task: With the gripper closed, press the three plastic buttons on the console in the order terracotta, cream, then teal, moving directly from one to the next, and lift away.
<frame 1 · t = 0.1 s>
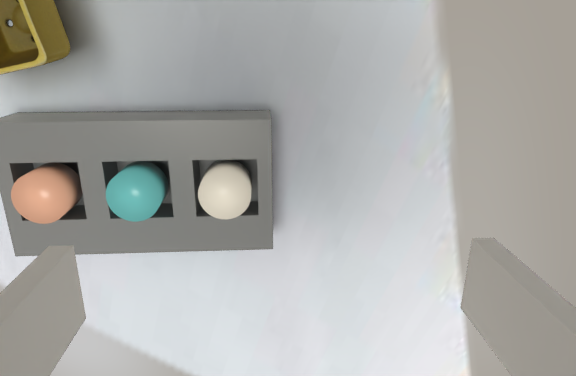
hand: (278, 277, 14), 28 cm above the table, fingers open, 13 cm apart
flower pot: (29, 17, 37), on the table
console: (152, 173, 42), on the table
teal button: (138, 190, 37), point 5 cm above the table, slide at 0.0 cm
cream button: (226, 188, 37), point 5 cm above the table, slide at 0.0 cm
terracotta button: (48, 192, 36), point 5 cm above the table, slide at 0.0 cm
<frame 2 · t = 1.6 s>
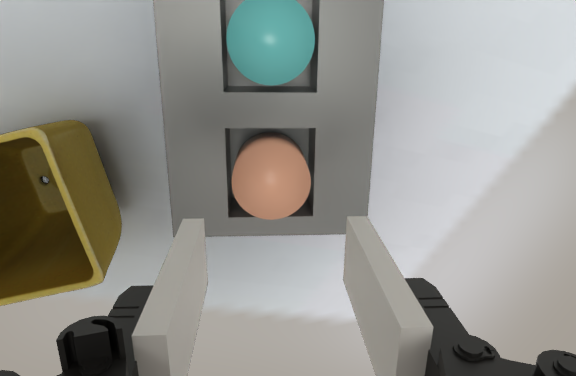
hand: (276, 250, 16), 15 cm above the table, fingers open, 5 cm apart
flower pot: (68, 174, 30), on the table
console: (268, 40, 28), on the table
teal button: (270, 40, 23), point 5 cm above the table, slide at 0.0 cm
terracotta button: (270, 174, 25), point 5 cm above the table, slide at 0.0 cm
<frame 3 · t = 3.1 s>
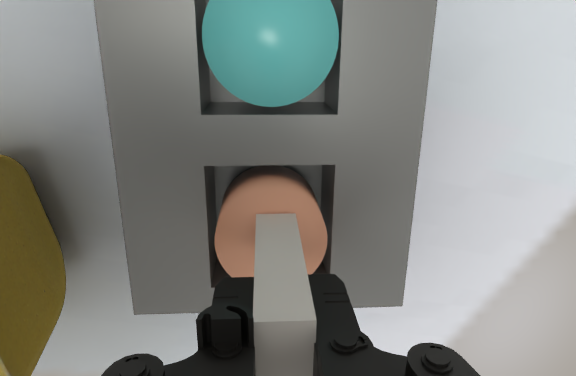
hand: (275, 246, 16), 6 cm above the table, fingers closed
console: (267, 38, 20), on the table
teal button: (269, 38, 15), point 5 cm above the table, slide at 0.0 cm
terracotta button: (270, 225, 18), point 5 cm above the table, slide at 0.5 cm, touching gripper
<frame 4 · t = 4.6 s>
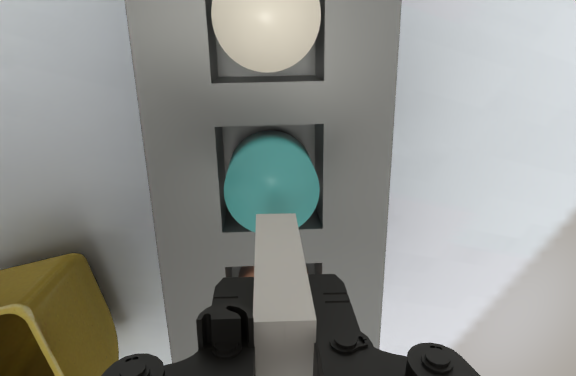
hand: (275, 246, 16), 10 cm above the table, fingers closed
flower pot: (62, 291, 28), on the table
console: (269, 154, 26), on the table
teal button: (271, 180, 21), point 5 cm above the table, slide at 0.0 cm
cream button: (266, 17, 19), point 5 cm above the table, slide at 0.0 cm
terracotta button: (274, 295, 25), point 4 cm above the table, slide at 1.4 cm
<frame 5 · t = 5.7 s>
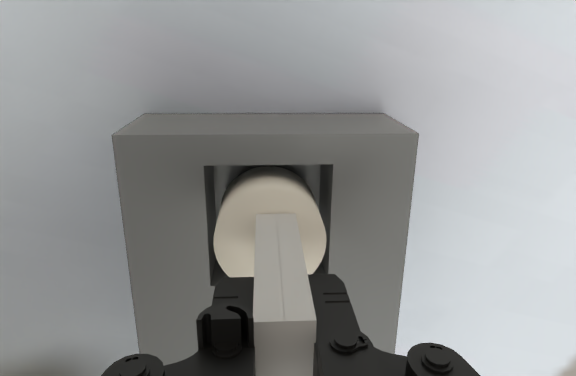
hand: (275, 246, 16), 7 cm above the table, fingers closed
console: (267, 308, 25), on the table
cream button: (269, 226, 18), point 5 cm above the table, slide at 0.3 cm, touching gripper
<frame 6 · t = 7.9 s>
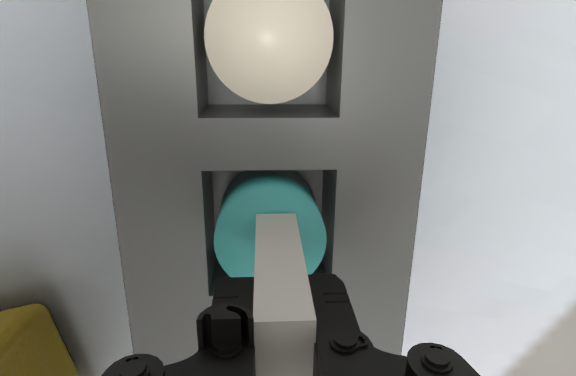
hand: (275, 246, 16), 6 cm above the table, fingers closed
flower pot: (20, 344, 24), on the table
console: (267, 193, 22), on the table
teal button: (269, 225, 18), point 4 cm above the table, slide at 1.1 cm, touching gripper
cream button: (268, 38, 16), point 4 cm above the table, slide at 1.4 cm
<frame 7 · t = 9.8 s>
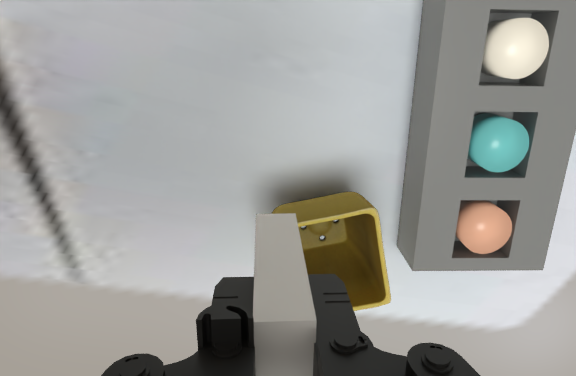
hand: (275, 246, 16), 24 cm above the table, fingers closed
flower pot: (317, 222, 42), on the table
console: (472, 133, 40), on the table
teal button: (492, 142, 36), point 4 cm above the table, slide at 1.4 cm
cream button: (508, 48, 34), point 4 cm above the table, slide at 1.4 cm
terracotta button: (478, 223, 38), point 4 cm above the table, slide at 1.4 cm
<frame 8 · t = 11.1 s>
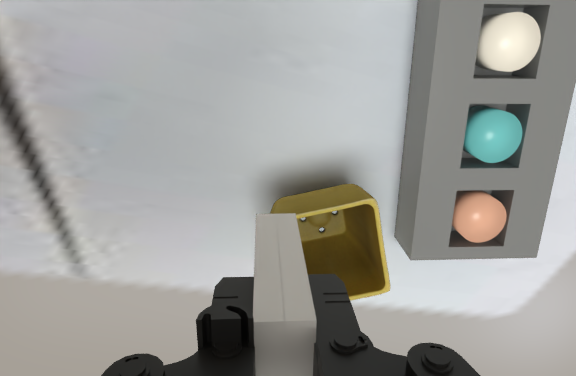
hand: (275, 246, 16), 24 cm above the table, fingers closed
flower pot: (317, 214, 43), on the table
console: (467, 125, 41), on the table
teal button: (486, 133, 37), point 4 cm above the table, slide at 1.4 cm
cream button: (501, 42, 35), point 4 cm above the table, slide at 1.4 cm
terracotta button: (473, 213, 40), point 4 cm above the table, slide at 1.4 cm
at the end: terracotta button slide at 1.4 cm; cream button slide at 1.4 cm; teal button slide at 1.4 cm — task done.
